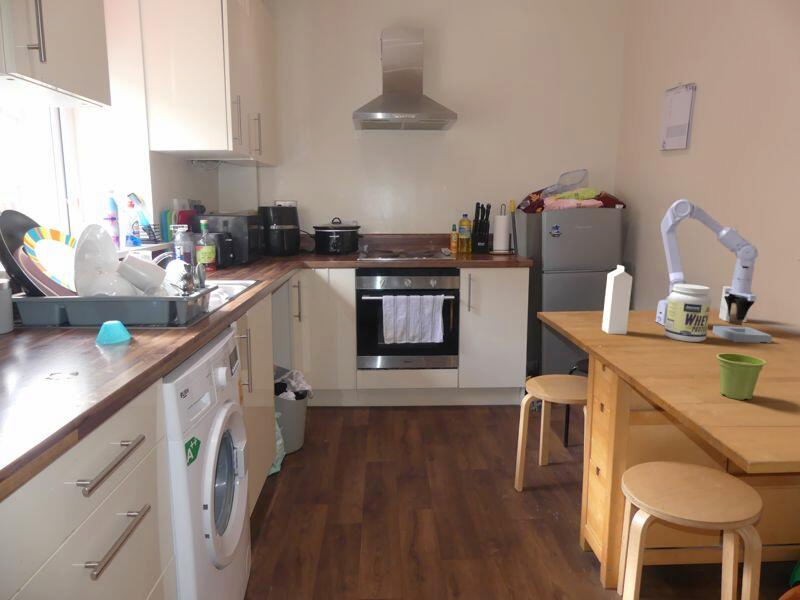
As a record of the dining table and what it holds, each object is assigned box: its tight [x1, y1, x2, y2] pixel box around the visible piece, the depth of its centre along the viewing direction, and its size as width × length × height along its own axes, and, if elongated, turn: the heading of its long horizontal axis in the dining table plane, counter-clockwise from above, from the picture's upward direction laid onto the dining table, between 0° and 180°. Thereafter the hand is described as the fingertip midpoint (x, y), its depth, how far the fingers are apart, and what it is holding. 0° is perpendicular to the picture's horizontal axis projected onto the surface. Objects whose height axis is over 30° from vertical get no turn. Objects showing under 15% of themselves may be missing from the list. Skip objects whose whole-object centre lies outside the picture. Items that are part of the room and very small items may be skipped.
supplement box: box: [718, 285, 752, 323], centre depth 214 cm, size 7×7×13 cm
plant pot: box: [716, 352, 767, 401], centre depth 126 cm, size 9×9×9 cm
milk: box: [601, 264, 633, 335], centre depth 185 cm, size 6×6×22 cm
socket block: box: [712, 325, 773, 344], centre depth 185 cm, size 12×12×2 cm
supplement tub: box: [663, 283, 712, 343], centre depth 181 cm, size 12×12×17 cm
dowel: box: [728, 303, 743, 326], centre depth 194 cm, size 4×4×7 cm
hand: (736, 318), depth 194 cm, fingers closed on dowel, 4 cm apart
